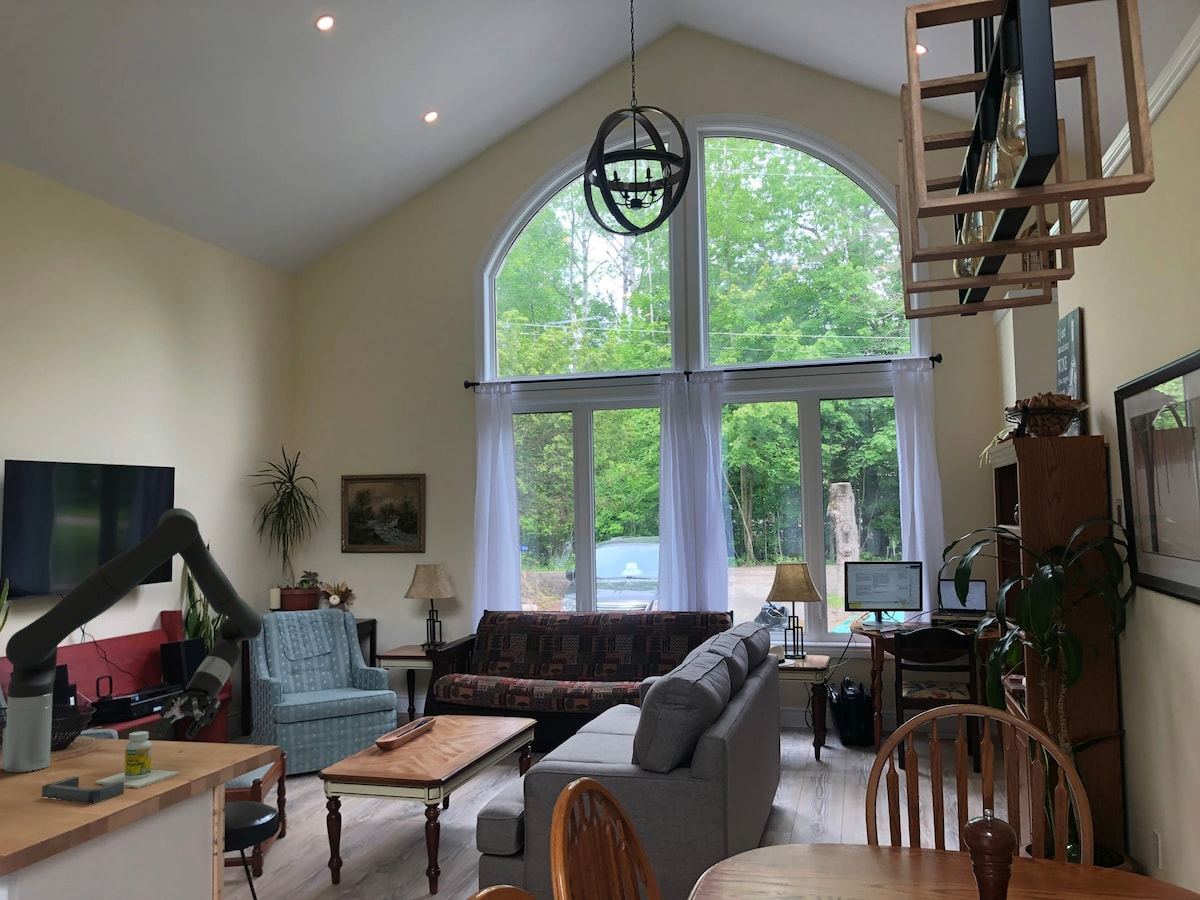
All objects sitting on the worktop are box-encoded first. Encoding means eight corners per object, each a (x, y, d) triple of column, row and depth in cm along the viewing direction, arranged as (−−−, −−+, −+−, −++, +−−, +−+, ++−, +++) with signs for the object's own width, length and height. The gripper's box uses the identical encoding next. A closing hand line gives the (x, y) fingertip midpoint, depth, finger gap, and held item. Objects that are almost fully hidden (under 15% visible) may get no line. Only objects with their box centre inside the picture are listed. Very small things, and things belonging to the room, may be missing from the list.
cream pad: (95, 784, 207) (95, 781, 208) (137, 770, 219) (137, 767, 219) (138, 788, 204) (138, 785, 204) (178, 774, 215) (178, 771, 215)
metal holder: (41, 798, 197) (42, 786, 197) (73, 788, 204) (73, 776, 205) (93, 804, 193) (94, 791, 193) (123, 793, 200) (123, 781, 200)
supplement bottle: (153, 772, 215) (154, 729, 216) (147, 778, 210) (149, 735, 210) (127, 773, 214) (129, 731, 214) (121, 780, 208) (123, 736, 209)
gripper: (178, 669, 234) (141, 725, 222) (225, 671, 229) (190, 728, 217) (193, 686, 238) (158, 742, 226) (239, 689, 234) (206, 746, 222)
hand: (174, 735), depth 222 cm, fingers open, 8 cm apart
